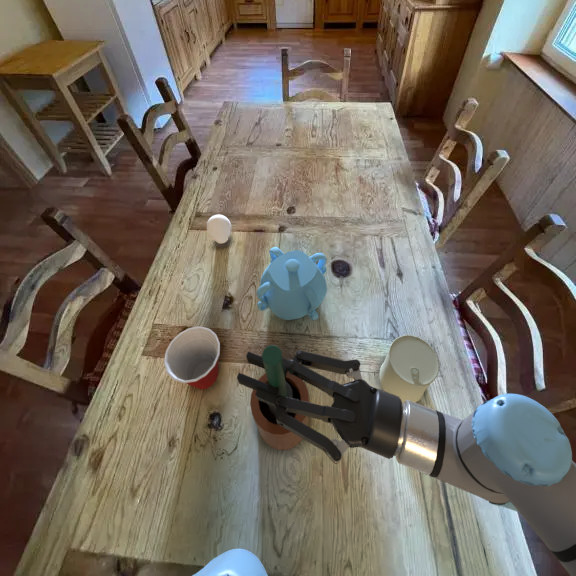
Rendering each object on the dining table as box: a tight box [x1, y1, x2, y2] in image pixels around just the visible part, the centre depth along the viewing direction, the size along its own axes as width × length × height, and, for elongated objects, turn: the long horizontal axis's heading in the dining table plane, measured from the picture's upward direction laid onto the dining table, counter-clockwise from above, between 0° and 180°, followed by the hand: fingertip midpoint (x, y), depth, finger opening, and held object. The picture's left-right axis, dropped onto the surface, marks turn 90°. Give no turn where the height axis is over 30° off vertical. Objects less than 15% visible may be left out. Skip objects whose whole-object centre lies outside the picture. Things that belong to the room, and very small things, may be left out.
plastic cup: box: [163, 325, 221, 390], centre depth 70 cm, size 11×11×12 cm
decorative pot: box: [256, 246, 328, 321], centre depth 82 cm, size 16×16×14 cm
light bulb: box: [206, 213, 233, 248], centre depth 96 cm, size 7×7×11 cm
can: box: [378, 334, 440, 403], centre depth 67 cm, size 9×9×12 cm
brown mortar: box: [249, 371, 310, 451], centre depth 63 cm, size 10×10×13 cm
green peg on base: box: [261, 344, 293, 416], centre depth 52 cm, size 4×4×22 cm
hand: (243, 367), depth 53 cm, fingers closed on green peg on base, 3 cm apart
